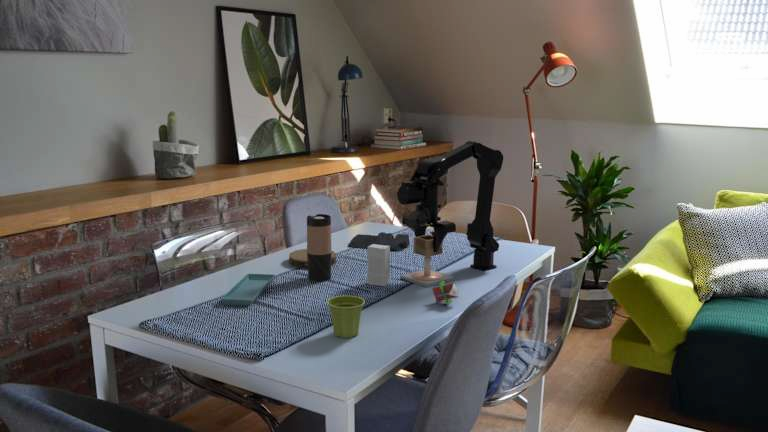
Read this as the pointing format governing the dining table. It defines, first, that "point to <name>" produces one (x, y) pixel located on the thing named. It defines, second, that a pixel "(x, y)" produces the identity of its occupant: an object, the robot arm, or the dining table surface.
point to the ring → (426, 246)
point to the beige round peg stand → (427, 275)
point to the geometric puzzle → (445, 292)
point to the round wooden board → (304, 258)
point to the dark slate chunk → (381, 241)
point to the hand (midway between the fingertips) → (428, 249)
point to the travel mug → (319, 247)
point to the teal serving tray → (247, 289)
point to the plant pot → (346, 315)
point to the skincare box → (378, 264)
